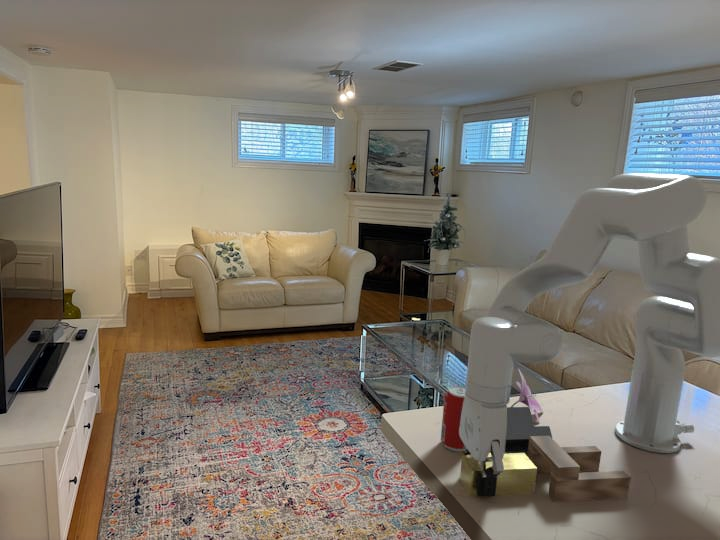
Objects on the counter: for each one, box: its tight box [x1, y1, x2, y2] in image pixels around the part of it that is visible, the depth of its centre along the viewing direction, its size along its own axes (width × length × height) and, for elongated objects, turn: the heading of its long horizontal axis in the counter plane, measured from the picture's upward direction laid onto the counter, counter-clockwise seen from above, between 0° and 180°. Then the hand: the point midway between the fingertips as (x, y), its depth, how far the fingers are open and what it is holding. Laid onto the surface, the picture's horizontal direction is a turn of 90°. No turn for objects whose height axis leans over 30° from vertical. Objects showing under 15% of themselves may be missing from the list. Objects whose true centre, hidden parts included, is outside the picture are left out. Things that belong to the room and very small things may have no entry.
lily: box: [510, 368, 544, 424], centre depth 121 cm, size 12×12×10 cm
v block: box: [504, 406, 553, 456], centre depth 107 cm, size 10×12×6 cm
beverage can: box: [440, 385, 466, 453], centre depth 105 cm, size 6×6×12 cm
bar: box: [459, 453, 538, 497], centre depth 93 cm, size 12×5×5 cm, turn 99°
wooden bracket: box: [527, 436, 632, 503], centre depth 95 cm, size 14×10×6 cm
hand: (478, 482), depth 92 cm, fingers open, 6 cm apart
